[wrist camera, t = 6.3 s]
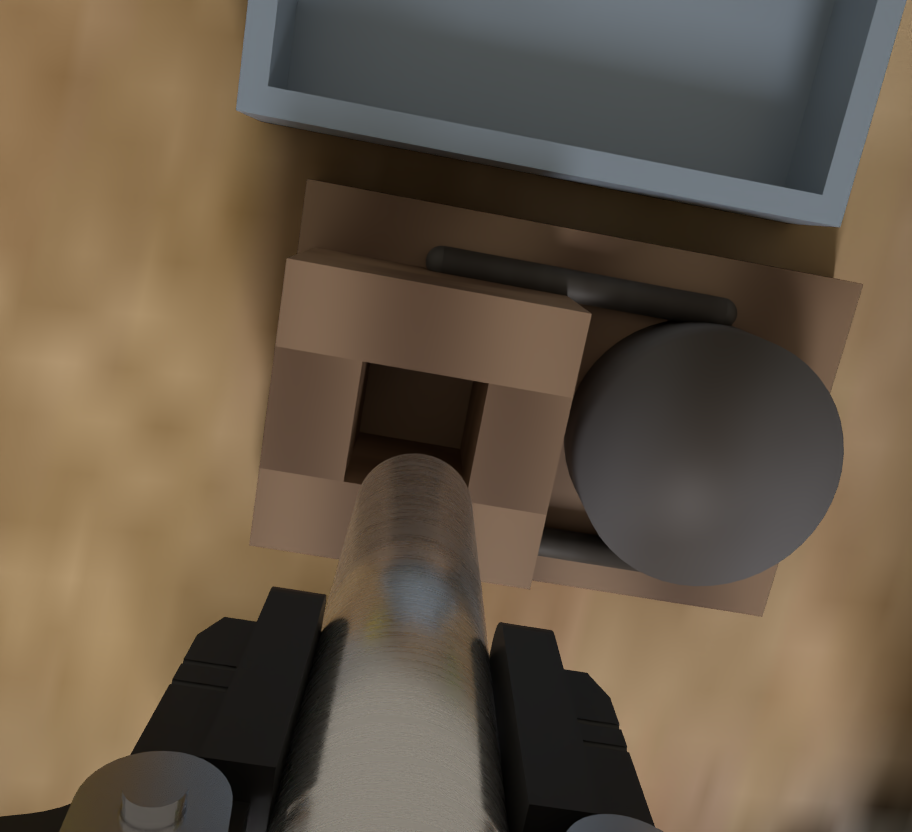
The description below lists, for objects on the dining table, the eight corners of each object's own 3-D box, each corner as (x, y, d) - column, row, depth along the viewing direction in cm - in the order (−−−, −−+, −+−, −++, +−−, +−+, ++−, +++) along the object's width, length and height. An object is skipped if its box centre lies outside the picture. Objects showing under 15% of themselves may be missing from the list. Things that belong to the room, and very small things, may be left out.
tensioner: (834, 278, 29) (958, 302, 22) (742, 590, 31) (826, 697, 25) (316, 180, 27) (276, 174, 21) (270, 515, 30) (223, 607, 23)
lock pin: (499, 452, 17) (637, 1014, 5) (472, 586, 17) (539, 1343, 6) (352, 427, 17) (152, 950, 5) (331, 563, 17) (112, 1300, 6)
